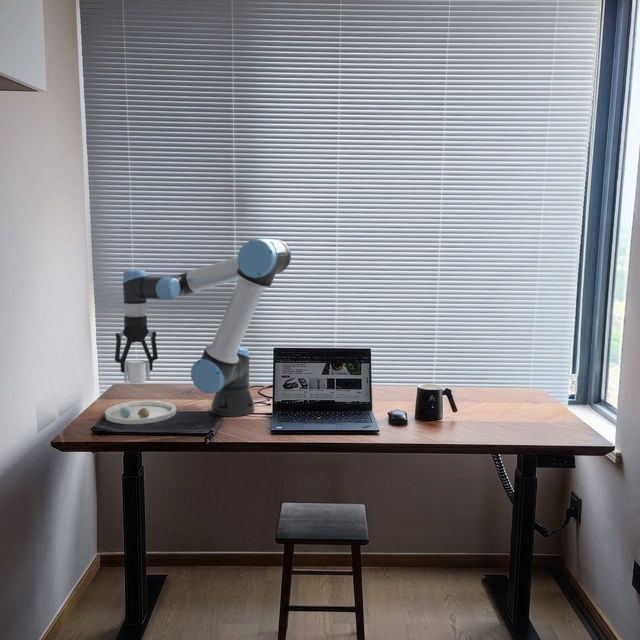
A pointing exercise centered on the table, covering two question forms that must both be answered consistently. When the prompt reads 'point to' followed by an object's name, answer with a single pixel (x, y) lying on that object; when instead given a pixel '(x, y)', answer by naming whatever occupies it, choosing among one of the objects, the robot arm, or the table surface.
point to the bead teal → (125, 412)
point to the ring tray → (155, 408)
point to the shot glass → (136, 371)
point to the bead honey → (143, 413)
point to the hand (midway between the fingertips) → (137, 380)
